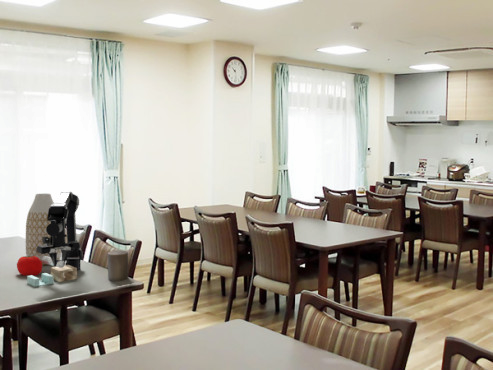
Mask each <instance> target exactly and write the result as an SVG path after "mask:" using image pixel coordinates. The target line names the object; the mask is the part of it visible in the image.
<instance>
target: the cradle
mask: <svg viewBox="0 0 493 370" xmlns="http://www.w3.org/2000/svg"><path fill="white" fill-rule="evenodd" d="M26 277H27V278H26V279H27V284H28V285H30V286H32V287H35V288H36V287H40V286H47V285H51V284H54V283H55V282H54V281H55V280H54V277H53V276H52V275H51V273H50V274H49V273H47V272H44V273H42V272H41V280H40V278H39V277H37V276H36V275H35V276H33V275H30V276H26Z"/></svg>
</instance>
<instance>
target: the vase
mask: <svg viewBox="0 0 493 370" xmlns="http://www.w3.org/2000/svg"><path fill="white" fill-rule="evenodd" d="M51 194H52V193H36V194H35V196H34V199H33V201H32V204H31V206H30V207H29V210H28V212H27V216H26V221H25V256H33V255H34V256H36V257H38V258H39V259H40V260H41V261H42V258H43V257H44V256H48V257H50V255H49V254H48V253H46V254H41V253H38V252H36V248H37V247H38V246H41V245H47V244H43V242H42V237H46V236H47V237H48V238H50V235H49V234H48V233H47V232H46V228H47V226H48V225H49V224H50V223H51V221H47V217H48V211H49V207H50V206H51V205H52V204H53V203H55V201H54V200H53V197H52V195H51ZM49 246H52V245H49ZM56 248H57V247H56ZM55 252H56V253H57V259H59V260H61V258H62V252H61V249H57V250H55ZM42 266H50V265H49V264H45V263H43V262H42Z"/></svg>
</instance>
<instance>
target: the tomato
mask: <svg viewBox="0 0 493 370" xmlns="http://www.w3.org/2000/svg"><path fill="white" fill-rule="evenodd" d="M16 269H17V271H18V273H19V274H20V275H21V276H25V277H27V276H30V275H33V276H35V277H36V276H38V275H40V274H42V271H43V265H42V261H41V260H40V259H39V258H38V257H36V256H34V255H33V256H26V255H25V256H23V255H22V256H21V257H20V258H19V259H18V260H17V263H16Z"/></svg>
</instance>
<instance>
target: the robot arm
mask: <svg viewBox="0 0 493 370" xmlns="http://www.w3.org/2000/svg"><path fill="white" fill-rule="evenodd" d="M79 206H80V198H79V196H78V195H77V194H74V193H73V192H72V191H61V192H60V196H59V198H58V200H56V202H54V203H53V204H52V205H51V206H50V207H49V211H48V217H47V221H51V223H50V224H49V225H48V226H47V228H46V232H47V233H48V234H49V235H50V238H48V237H47V236H46V237H42V242H43V244H47V245H41V246H38V247H37V248H36V252H38V253H41V254H46V253H48V254H49V255H50V257H51V259H52V262H53V264H54V266H53V267H56V264H57V253H56V252H55V250H57V249H61V252H62V253H61V260H63V261H64V262H65V265H70V266H73V267H75V268H77V272H78V271H80V270H81V261H82V260H83V261H84V254H83V253H84V252H83V251H82V248H81V244H80V241H78V240H77V225H76V224H77V223H76V212H77V210H78V208H79ZM49 245H52V246H49ZM56 247H57V248H56Z"/></svg>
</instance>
